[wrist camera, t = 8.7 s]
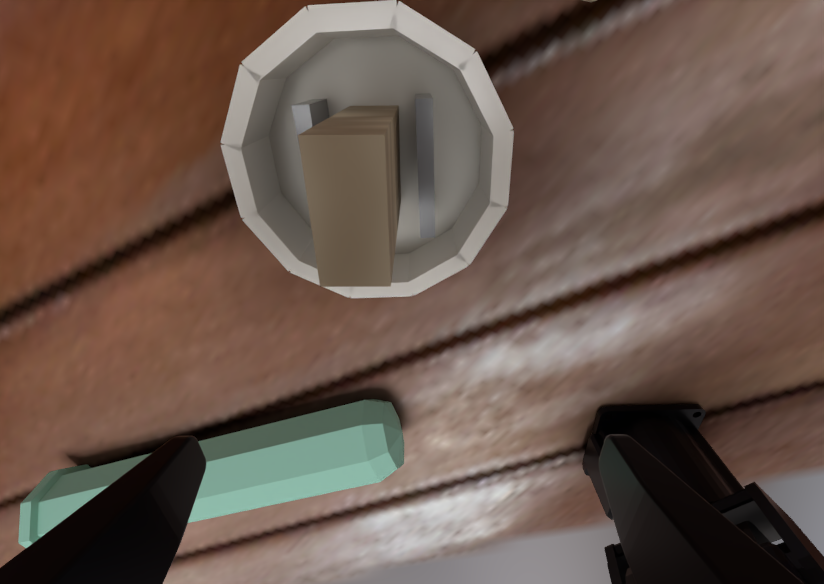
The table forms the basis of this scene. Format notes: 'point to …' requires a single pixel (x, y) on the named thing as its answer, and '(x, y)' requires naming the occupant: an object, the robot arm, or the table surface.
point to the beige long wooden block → (354, 194)
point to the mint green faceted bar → (249, 466)
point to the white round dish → (418, 129)
